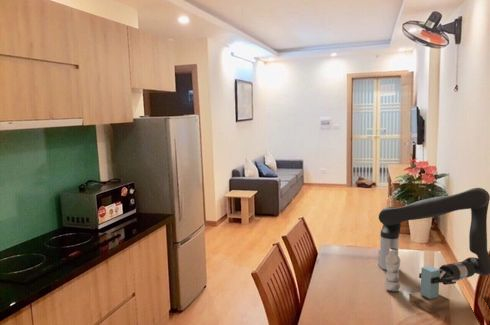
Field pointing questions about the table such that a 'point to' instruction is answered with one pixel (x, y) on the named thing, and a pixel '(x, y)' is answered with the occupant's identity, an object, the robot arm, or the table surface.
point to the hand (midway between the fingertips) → (425, 278)
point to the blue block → (429, 282)
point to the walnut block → (429, 302)
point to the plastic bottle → (392, 270)
